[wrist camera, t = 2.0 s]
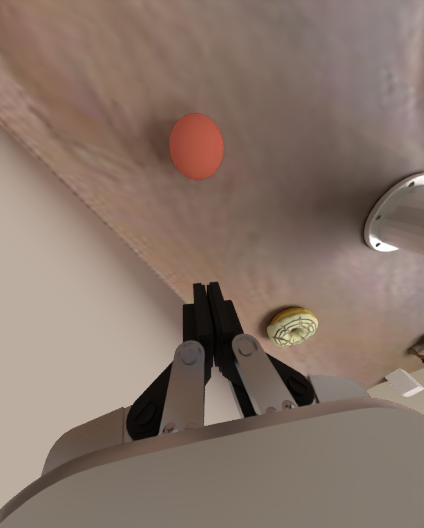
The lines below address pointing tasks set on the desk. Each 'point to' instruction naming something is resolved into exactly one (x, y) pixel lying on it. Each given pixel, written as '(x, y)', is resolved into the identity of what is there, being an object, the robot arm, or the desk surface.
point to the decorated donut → (292, 327)
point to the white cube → (404, 383)
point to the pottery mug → (418, 355)
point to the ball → (196, 146)
